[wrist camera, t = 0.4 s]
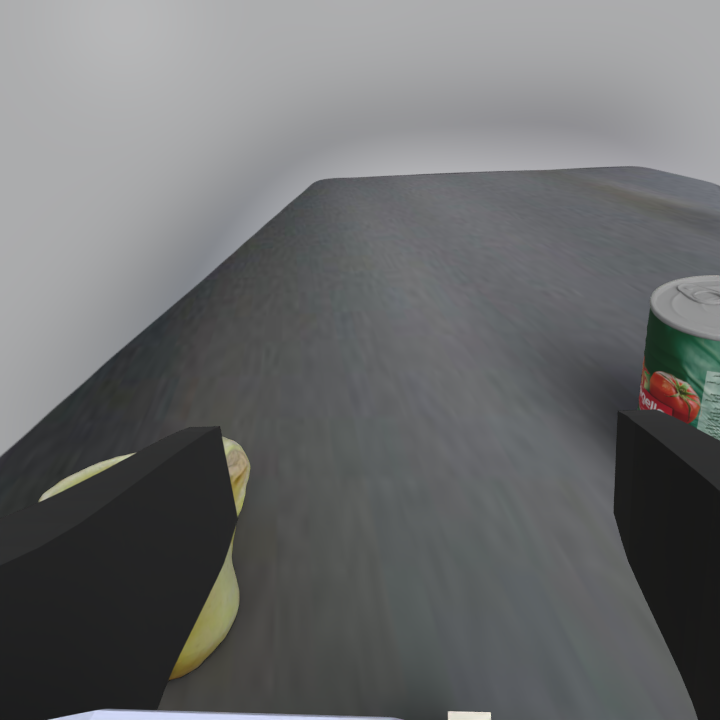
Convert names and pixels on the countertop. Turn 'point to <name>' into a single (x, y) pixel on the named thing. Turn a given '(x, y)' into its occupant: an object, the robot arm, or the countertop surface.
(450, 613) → the countertop surface
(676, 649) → the robot arm
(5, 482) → the countertop surface
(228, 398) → the countertop surface
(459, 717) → the white piece
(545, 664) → the countertop surface
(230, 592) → the mug
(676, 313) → the canned tomato
